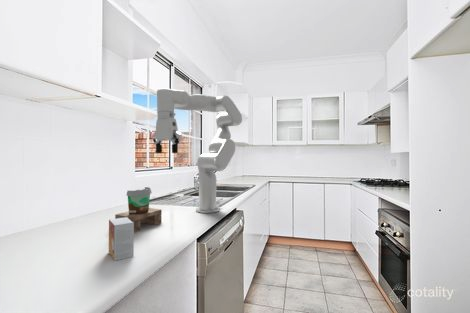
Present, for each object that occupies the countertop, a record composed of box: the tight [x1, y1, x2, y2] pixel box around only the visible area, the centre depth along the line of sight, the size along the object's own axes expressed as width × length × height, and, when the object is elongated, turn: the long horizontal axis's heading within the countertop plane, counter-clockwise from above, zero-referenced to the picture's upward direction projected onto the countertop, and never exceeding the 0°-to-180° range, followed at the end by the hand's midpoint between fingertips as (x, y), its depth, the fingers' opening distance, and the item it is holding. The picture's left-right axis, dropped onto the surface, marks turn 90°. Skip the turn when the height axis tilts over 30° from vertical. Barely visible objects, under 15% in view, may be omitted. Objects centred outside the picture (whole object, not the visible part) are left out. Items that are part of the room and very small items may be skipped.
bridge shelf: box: [114, 207, 163, 233], centre depth 106 cm, size 16×10×6 cm, turn 153°
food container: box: [126, 186, 152, 214], centre depth 105 cm, size 12×6×10 cm, turn 163°
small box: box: [108, 217, 135, 262], centre depth 76 cm, size 8×6×10 cm
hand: (166, 153), depth 114 cm, fingers open, 9 cm apart
